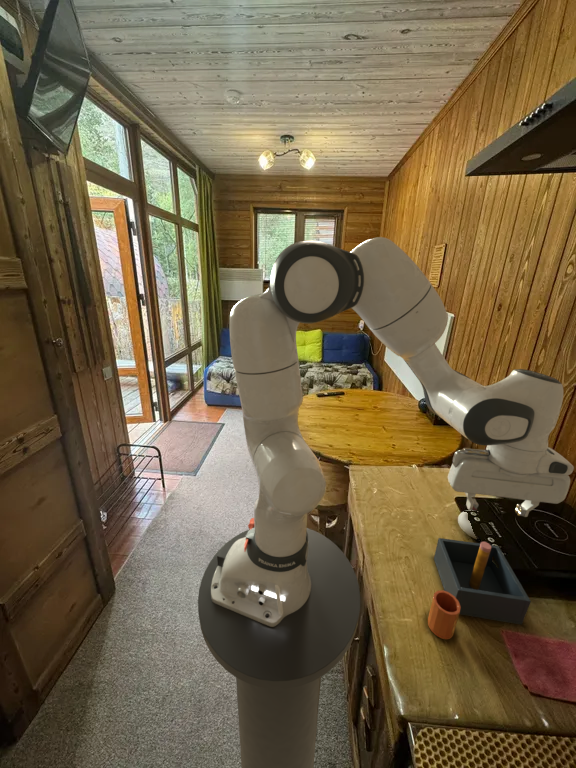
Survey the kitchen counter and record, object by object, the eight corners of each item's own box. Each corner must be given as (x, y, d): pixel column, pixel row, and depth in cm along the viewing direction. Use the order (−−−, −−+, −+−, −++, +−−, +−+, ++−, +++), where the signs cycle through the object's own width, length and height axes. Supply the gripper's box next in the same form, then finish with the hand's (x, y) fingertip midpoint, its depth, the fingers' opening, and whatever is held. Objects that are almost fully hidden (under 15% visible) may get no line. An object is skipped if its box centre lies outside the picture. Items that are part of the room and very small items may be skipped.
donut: (452, 531, 87) (494, 550, 80) (454, 521, 86) (497, 540, 79) (461, 512, 94) (500, 528, 88) (463, 503, 93) (502, 518, 87)
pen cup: (431, 637, 61) (437, 612, 58) (424, 612, 65) (430, 588, 63) (457, 641, 60) (464, 617, 58) (448, 616, 65) (455, 592, 62)
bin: (451, 613, 65) (458, 590, 63) (433, 558, 78) (438, 537, 76) (521, 624, 63) (531, 601, 61) (491, 567, 76) (498, 545, 74)
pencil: (471, 588, 70) (483, 548, 66) (467, 580, 71) (479, 540, 68) (480, 590, 69) (493, 549, 65) (476, 582, 71) (489, 542, 67)
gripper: (461, 455, 57) (447, 515, 62) (584, 468, 54) (560, 530, 59) (450, 439, 63) (437, 494, 68) (561, 450, 60) (540, 507, 65)
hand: (495, 511), depth 63 cm, fingers open, 8 cm apart
